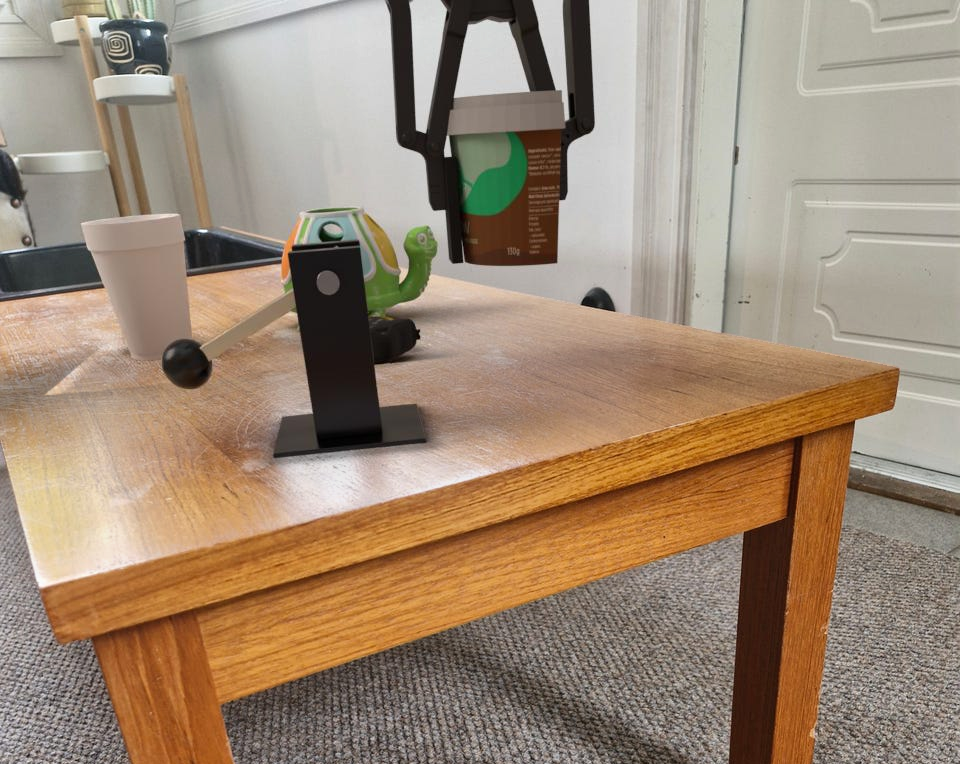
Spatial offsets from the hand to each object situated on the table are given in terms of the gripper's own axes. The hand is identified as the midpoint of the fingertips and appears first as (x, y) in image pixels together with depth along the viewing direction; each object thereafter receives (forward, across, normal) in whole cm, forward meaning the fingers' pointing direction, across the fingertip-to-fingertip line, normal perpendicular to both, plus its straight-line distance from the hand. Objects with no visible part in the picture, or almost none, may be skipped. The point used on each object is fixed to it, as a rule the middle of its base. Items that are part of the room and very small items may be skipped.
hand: (501, 256), depth 64 cm
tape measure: (+11, -9, +19) cm, 24 cm away
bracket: (+11, -12, -6) cm, 17 cm away
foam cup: (+11, -32, +33) cm, 47 cm away
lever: (+3, -16, -6) cm, 18 cm away
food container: (0, -1, 0) cm, 1 cm away
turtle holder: (+11, -11, +42) cm, 45 cm away
